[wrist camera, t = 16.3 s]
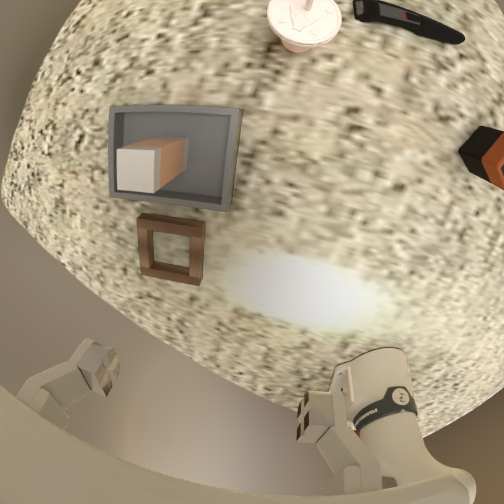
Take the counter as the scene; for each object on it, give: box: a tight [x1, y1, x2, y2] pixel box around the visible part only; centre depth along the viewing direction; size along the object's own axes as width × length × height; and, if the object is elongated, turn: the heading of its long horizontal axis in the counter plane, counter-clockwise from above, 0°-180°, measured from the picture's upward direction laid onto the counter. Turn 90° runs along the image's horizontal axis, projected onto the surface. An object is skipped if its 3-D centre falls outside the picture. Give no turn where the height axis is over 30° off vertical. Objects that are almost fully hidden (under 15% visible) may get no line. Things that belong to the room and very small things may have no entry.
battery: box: [459, 126, 504, 190], centre depth 22 cm, size 4×7×10 cm, turn 139°
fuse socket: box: [137, 213, 205, 286], centre depth 38 cm, size 9×9×2 cm
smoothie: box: [267, 0, 342, 53], centre depth 18 cm, size 6×6×14 cm
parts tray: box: [108, 105, 243, 212], centre depth 30 cm, size 12×16×4 cm
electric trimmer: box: [353, 0, 465, 45], centre depth 19 cm, size 4×16×3 cm, turn 91°
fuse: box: [117, 136, 189, 193], centre depth 27 cm, size 4×4×10 cm
